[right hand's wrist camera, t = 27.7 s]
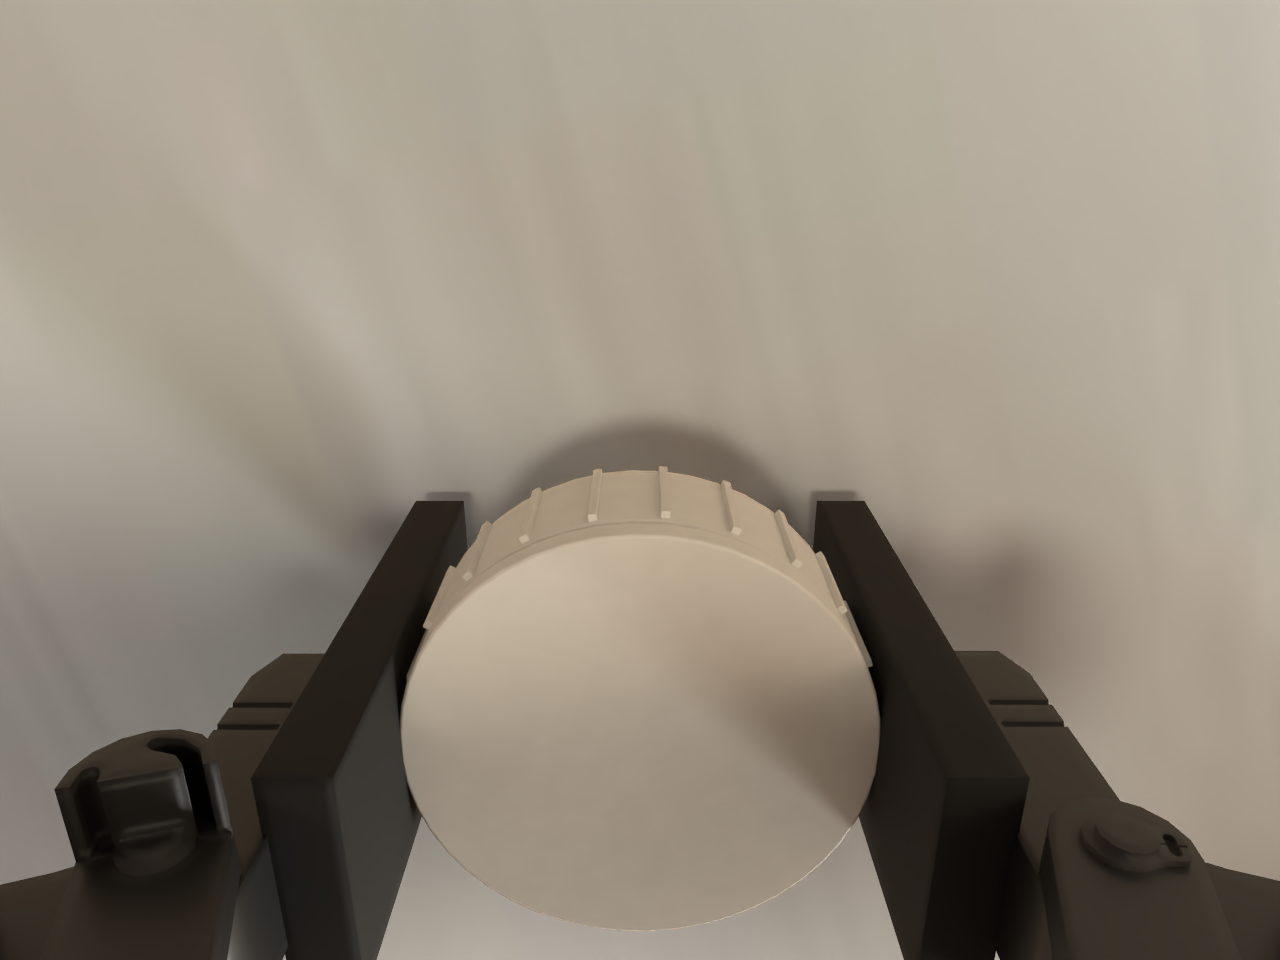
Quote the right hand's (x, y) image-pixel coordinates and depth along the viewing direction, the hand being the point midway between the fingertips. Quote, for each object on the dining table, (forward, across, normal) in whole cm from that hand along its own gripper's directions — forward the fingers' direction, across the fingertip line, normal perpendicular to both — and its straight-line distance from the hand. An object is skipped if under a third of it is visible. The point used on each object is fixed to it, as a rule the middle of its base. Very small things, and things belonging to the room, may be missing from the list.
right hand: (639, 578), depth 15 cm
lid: (-4, 0, 0) cm, 4 cm away
